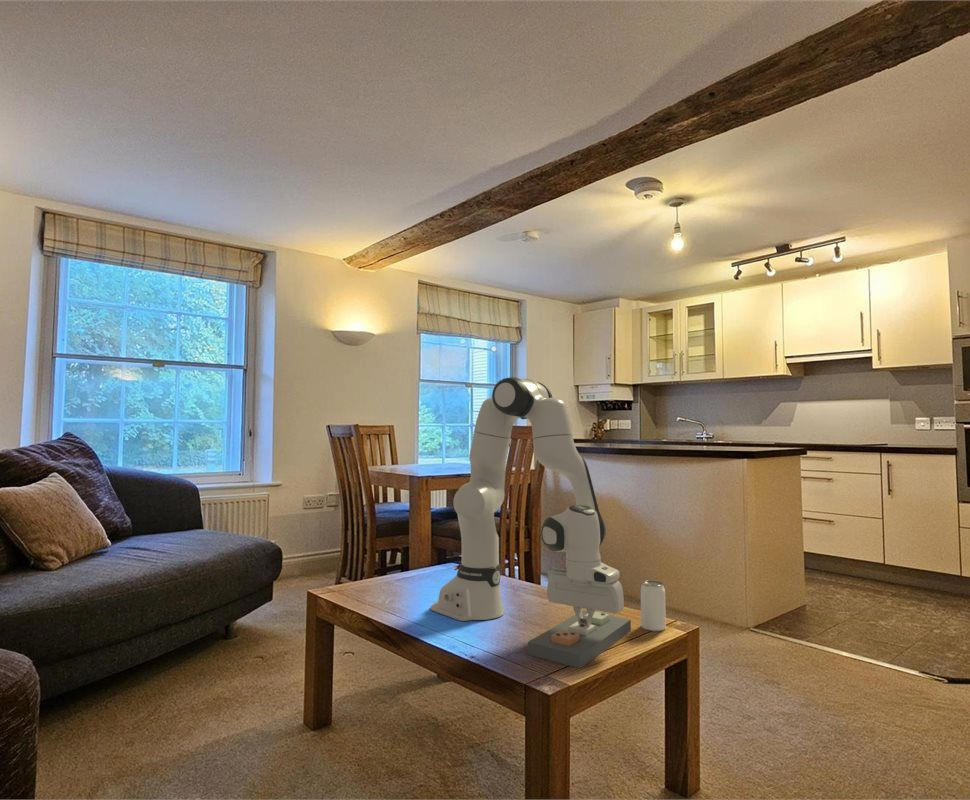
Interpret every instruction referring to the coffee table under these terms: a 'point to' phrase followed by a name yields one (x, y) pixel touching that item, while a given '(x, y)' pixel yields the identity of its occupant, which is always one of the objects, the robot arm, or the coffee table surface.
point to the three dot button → (565, 638)
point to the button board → (579, 642)
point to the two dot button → (599, 618)
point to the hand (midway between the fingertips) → (584, 624)
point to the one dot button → (582, 629)
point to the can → (653, 606)
